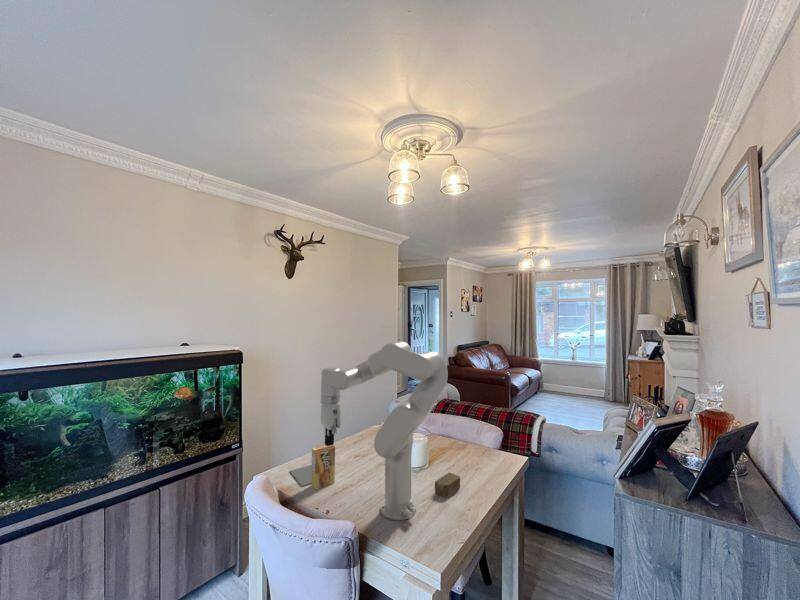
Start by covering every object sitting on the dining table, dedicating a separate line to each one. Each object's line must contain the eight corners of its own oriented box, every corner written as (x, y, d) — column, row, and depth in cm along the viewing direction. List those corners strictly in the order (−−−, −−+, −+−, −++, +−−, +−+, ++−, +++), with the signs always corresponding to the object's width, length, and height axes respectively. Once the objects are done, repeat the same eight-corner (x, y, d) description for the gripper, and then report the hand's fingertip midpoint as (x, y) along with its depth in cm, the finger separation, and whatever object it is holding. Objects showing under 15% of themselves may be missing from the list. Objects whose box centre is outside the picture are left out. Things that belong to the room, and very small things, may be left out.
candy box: (330, 478, 143) (330, 442, 144) (335, 482, 140) (335, 445, 141) (310, 485, 138) (311, 448, 138) (315, 489, 134) (315, 451, 135)
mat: (333, 477, 145) (333, 476, 145) (301, 486, 137) (301, 485, 137) (319, 463, 158) (319, 462, 158) (289, 471, 150) (289, 470, 150)
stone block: (433, 493, 132) (433, 481, 132) (449, 482, 140) (449, 470, 141) (446, 499, 128) (446, 486, 128) (461, 487, 137) (461, 475, 137)
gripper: (347, 401, 131) (346, 449, 130) (331, 393, 143) (330, 436, 142) (329, 404, 126) (327, 453, 126) (314, 395, 138) (313, 440, 138)
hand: (329, 444), depth 134 cm, fingers closed
